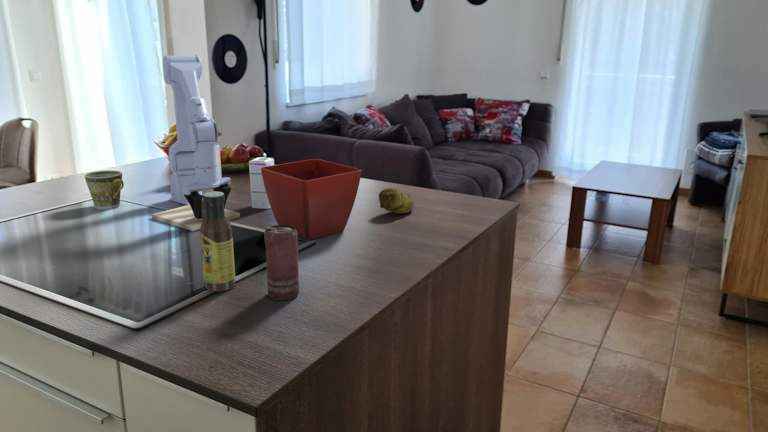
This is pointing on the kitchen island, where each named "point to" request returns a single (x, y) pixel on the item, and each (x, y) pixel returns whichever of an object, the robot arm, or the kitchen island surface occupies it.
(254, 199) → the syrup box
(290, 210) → the plant pot
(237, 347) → the kitchen island surface
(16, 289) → the kitchen island surface
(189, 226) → the board
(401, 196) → the yellow-green lumpy oblong piece
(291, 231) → the can
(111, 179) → the ceramic cup
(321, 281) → the kitchen island surface
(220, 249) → the sauce bottle
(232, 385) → the kitchen island surface
